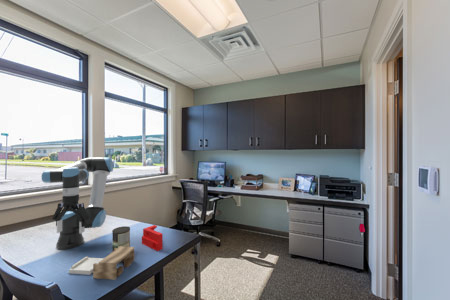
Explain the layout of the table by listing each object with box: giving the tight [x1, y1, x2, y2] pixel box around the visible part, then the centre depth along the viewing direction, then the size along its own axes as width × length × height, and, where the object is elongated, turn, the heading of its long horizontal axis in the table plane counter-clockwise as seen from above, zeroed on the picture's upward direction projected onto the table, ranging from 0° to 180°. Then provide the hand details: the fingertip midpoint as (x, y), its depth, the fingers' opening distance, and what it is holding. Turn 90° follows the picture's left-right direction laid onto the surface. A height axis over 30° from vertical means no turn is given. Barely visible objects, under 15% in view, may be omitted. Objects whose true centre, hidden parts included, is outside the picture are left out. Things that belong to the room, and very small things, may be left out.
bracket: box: [141, 224, 164, 252], centre depth 137 cm, size 18×10×10 cm
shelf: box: [92, 246, 135, 281], centre depth 108 cm, size 12×17×8 cm
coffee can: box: [111, 225, 131, 253], centre depth 128 cm, size 10×10×14 cm
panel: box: [68, 256, 105, 276], centre depth 110 cm, size 12×12×4 cm
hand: (70, 232), depth 112 cm, fingers open, 13 cm apart
